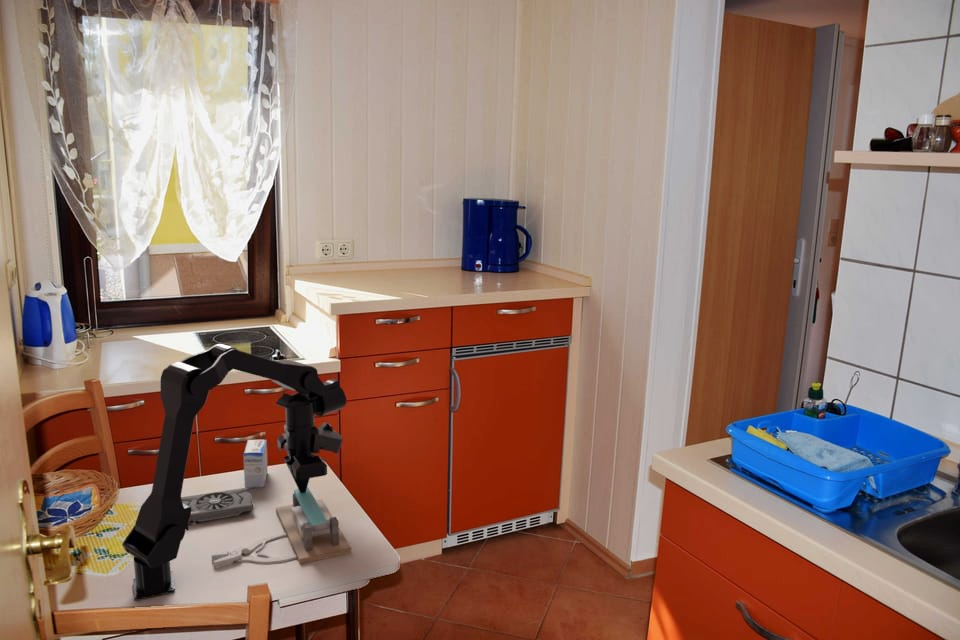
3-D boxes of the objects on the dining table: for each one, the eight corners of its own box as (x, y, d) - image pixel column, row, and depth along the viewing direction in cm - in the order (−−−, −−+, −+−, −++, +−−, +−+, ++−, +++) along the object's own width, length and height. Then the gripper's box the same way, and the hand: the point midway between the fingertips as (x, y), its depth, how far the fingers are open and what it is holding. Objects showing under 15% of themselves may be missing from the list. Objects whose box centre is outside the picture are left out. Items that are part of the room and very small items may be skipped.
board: (351, 552, 145) (350, 524, 143) (299, 563, 140) (298, 535, 139) (322, 503, 164) (321, 477, 162) (275, 511, 159) (274, 486, 158)
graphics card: (168, 522, 148) (166, 494, 159) (170, 538, 149) (167, 510, 160) (256, 508, 155) (248, 482, 166) (256, 524, 156) (249, 498, 167)
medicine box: (248, 473, 177) (246, 439, 175) (268, 472, 178) (266, 438, 176) (244, 488, 170) (242, 453, 168) (264, 487, 170) (263, 452, 168)
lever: (330, 529, 144) (329, 524, 144) (313, 533, 143) (313, 527, 142) (308, 491, 159) (308, 486, 159) (293, 494, 158) (293, 488, 157)
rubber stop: (312, 515, 158) (311, 494, 157) (295, 518, 157) (294, 497, 156) (310, 510, 160) (309, 490, 159) (293, 514, 159) (292, 493, 158)
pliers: (299, 552, 142) (216, 571, 135) (299, 559, 142) (217, 579, 135) (286, 528, 150) (208, 545, 144) (286, 535, 151) (208, 552, 144)
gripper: (351, 432, 148) (352, 504, 152) (327, 402, 165) (328, 468, 168) (295, 441, 144) (298, 514, 147) (275, 409, 160) (278, 476, 164)
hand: (302, 491), depth 157 cm, fingers closed, pressing on lever
